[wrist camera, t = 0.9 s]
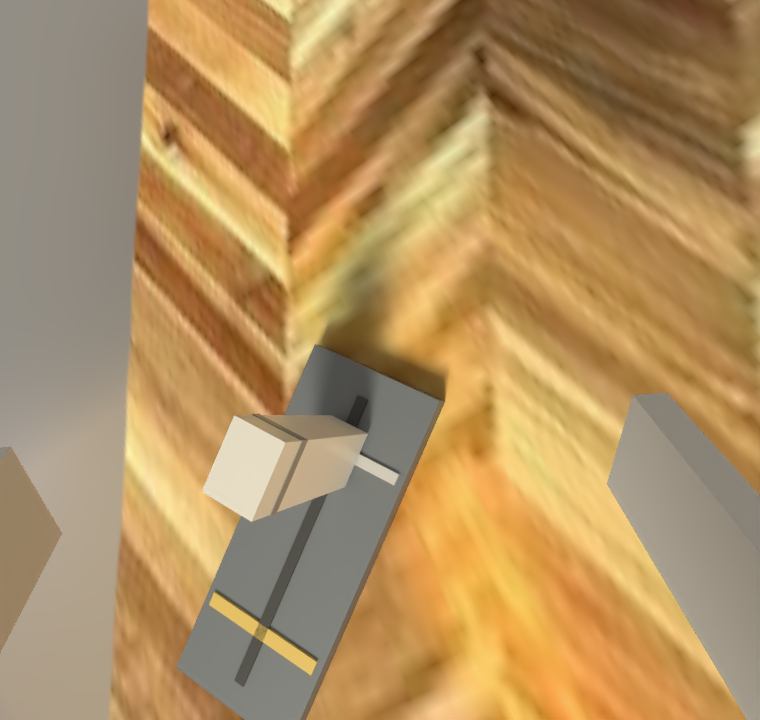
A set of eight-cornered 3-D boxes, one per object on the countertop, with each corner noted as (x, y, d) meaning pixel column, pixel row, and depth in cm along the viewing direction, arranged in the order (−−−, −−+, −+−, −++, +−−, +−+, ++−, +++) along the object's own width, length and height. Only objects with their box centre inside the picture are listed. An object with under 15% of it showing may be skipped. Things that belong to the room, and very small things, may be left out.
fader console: (325, 347, 39) (313, 344, 37) (444, 401, 36) (439, 400, 34) (193, 655, 40) (174, 668, 38) (299, 734, 37) (284, 753, 35)
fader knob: (330, 414, 36) (233, 413, 25) (369, 433, 35) (286, 442, 24) (307, 467, 36) (200, 492, 25) (345, 488, 35) (251, 523, 24)
